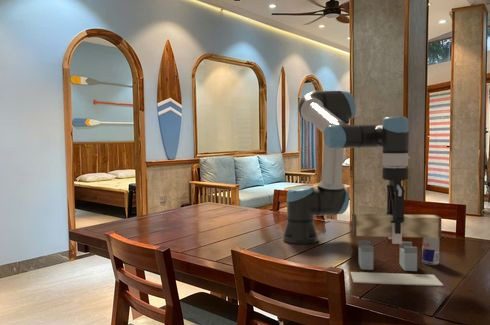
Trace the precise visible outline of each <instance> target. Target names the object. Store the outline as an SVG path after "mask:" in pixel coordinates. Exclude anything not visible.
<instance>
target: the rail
mask: <svg viewBox="0 0 490 325" xmlns="http://www.w3.org/2000/svg"><path fill="white" fill-rule="evenodd" d="M391 221H393V214H387V213H386V214H385V213H379V214H378V213H351V233H352V235H353V236H354V237H384V238H385V237H386V238H387V237H392V223H391ZM423 237H430V238H439V239H440V238H442V217H441V216H439V215H437V214H404V222H402V238H423Z"/></svg>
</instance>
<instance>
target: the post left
mask: <svg viewBox="0 0 490 325" xmlns="http://www.w3.org/2000/svg"><path fill="white" fill-rule="evenodd" d="M357 249H358V262H357V263H358V265H359V268H360V269H361V270H367V271H368V270H369V271H370V270H372V271H373V270H374V255H375V254H374V251H375V250H374V249H375V247H374V245H371V240H358V248H357Z"/></svg>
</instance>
